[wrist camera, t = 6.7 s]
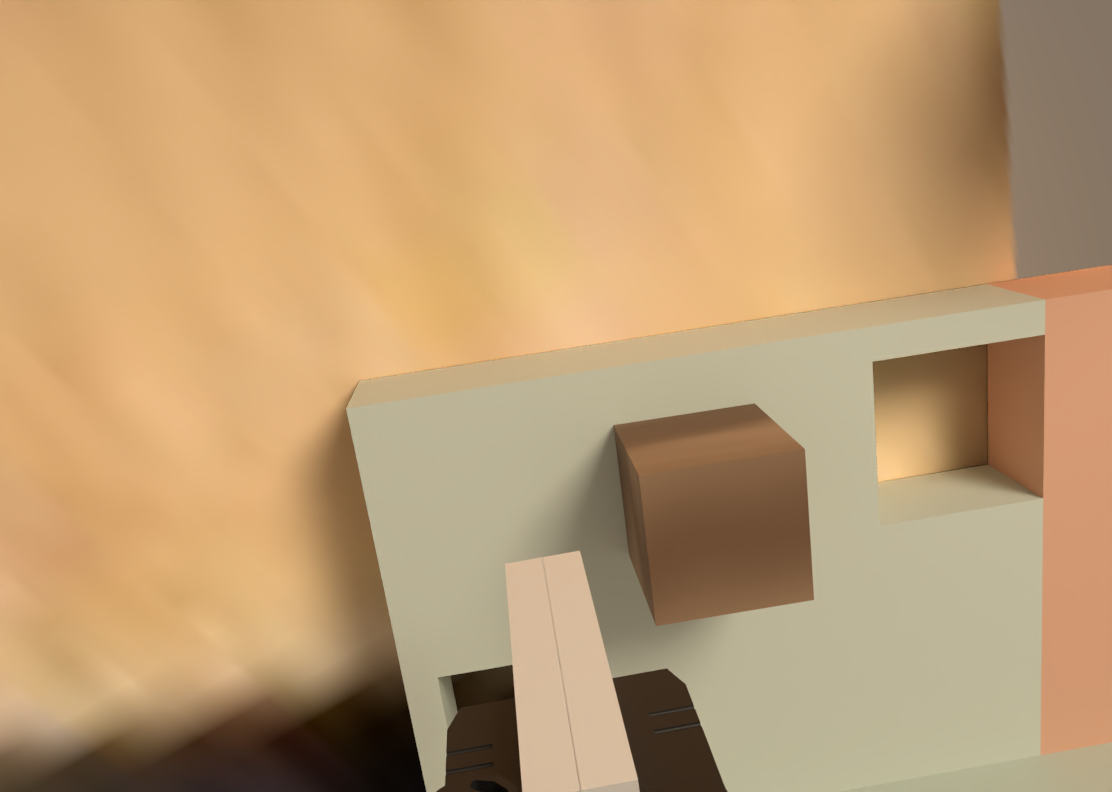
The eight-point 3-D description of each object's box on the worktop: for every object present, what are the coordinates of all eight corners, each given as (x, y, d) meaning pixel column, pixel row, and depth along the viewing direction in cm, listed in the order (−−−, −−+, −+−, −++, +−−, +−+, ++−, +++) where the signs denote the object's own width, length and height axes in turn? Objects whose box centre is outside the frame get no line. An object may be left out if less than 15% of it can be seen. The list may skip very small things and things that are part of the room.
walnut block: (613, 424, 25) (638, 475, 21) (754, 403, 25) (804, 449, 22) (629, 556, 26) (655, 626, 22) (764, 534, 26) (814, 600, 23)
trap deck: (359, 380, 27) (332, 437, 22) (1217, 248, 29) (1386, 271, 23) (448, 821, 32) (444, 956, 26) (1190, 689, 33) (1327, 793, 28)
